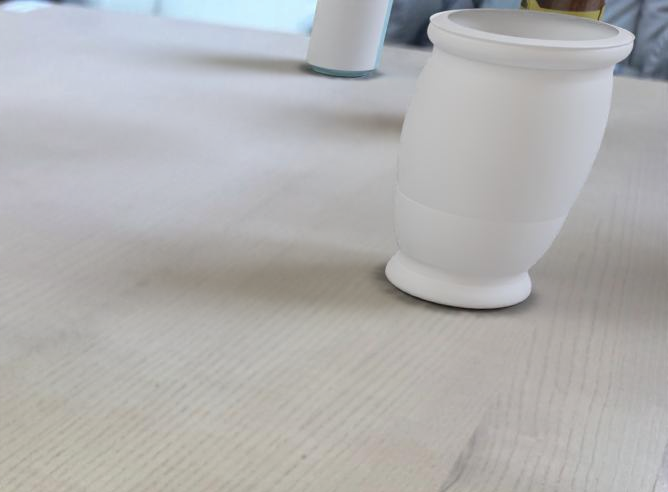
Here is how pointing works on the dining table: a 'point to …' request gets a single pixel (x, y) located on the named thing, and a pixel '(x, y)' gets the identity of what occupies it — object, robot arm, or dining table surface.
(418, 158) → the jar
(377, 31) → the can
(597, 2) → the sauce bottle
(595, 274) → the dining table surface
